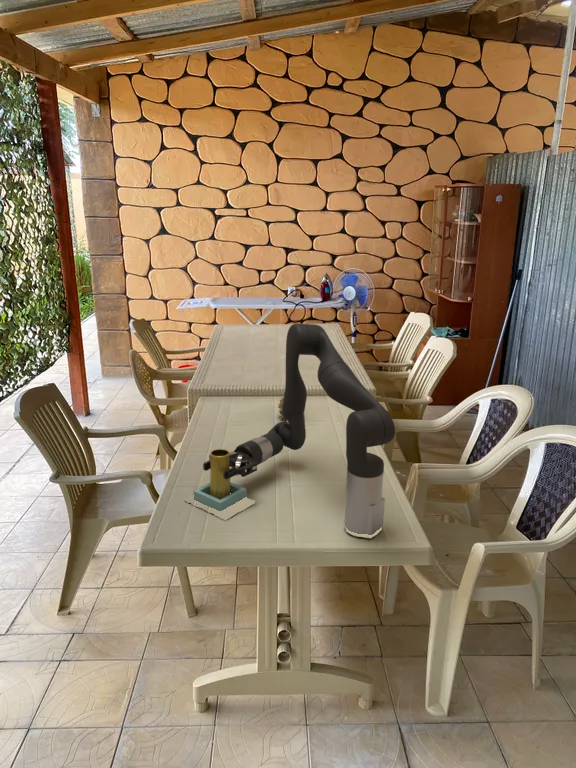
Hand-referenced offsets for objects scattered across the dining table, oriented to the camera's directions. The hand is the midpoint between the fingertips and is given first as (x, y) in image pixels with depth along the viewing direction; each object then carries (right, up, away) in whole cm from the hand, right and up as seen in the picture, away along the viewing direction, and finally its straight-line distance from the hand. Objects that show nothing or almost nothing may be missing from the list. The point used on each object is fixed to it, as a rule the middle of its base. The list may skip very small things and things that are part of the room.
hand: (214, 471), depth 168 cm
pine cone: (+21, +9, +63) cm, 67 cm away
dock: (+1, -10, +5) cm, 11 cm away
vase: (+1, -9, +5) cm, 10 cm away
